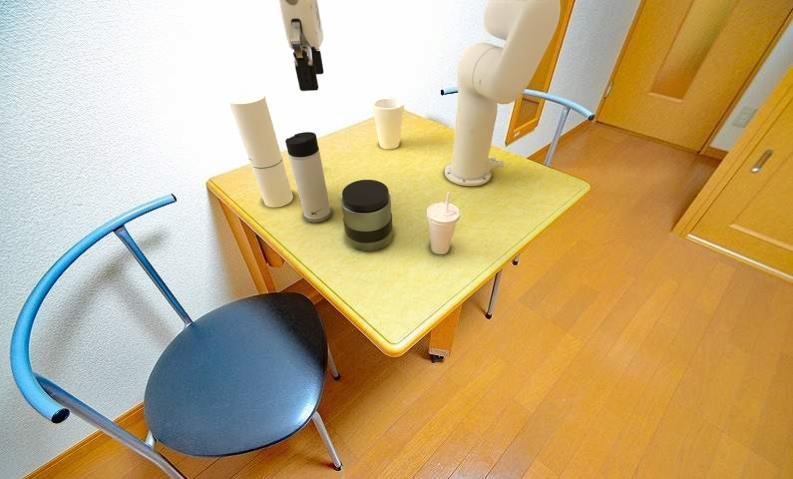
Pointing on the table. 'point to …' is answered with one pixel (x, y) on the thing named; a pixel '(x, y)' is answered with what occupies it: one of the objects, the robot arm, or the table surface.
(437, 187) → the table surface
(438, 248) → the smoothie
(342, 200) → the jar
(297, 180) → the travel mug
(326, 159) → the table surface
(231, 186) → the table surface
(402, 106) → the foam cup
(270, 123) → the cylindrical container
